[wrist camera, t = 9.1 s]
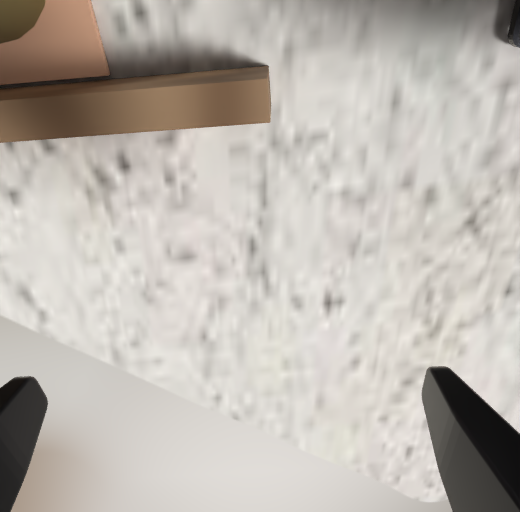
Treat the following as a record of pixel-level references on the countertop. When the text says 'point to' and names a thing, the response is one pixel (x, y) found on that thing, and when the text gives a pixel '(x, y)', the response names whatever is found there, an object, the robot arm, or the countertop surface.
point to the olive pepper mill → (18, 17)
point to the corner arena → (111, 86)
